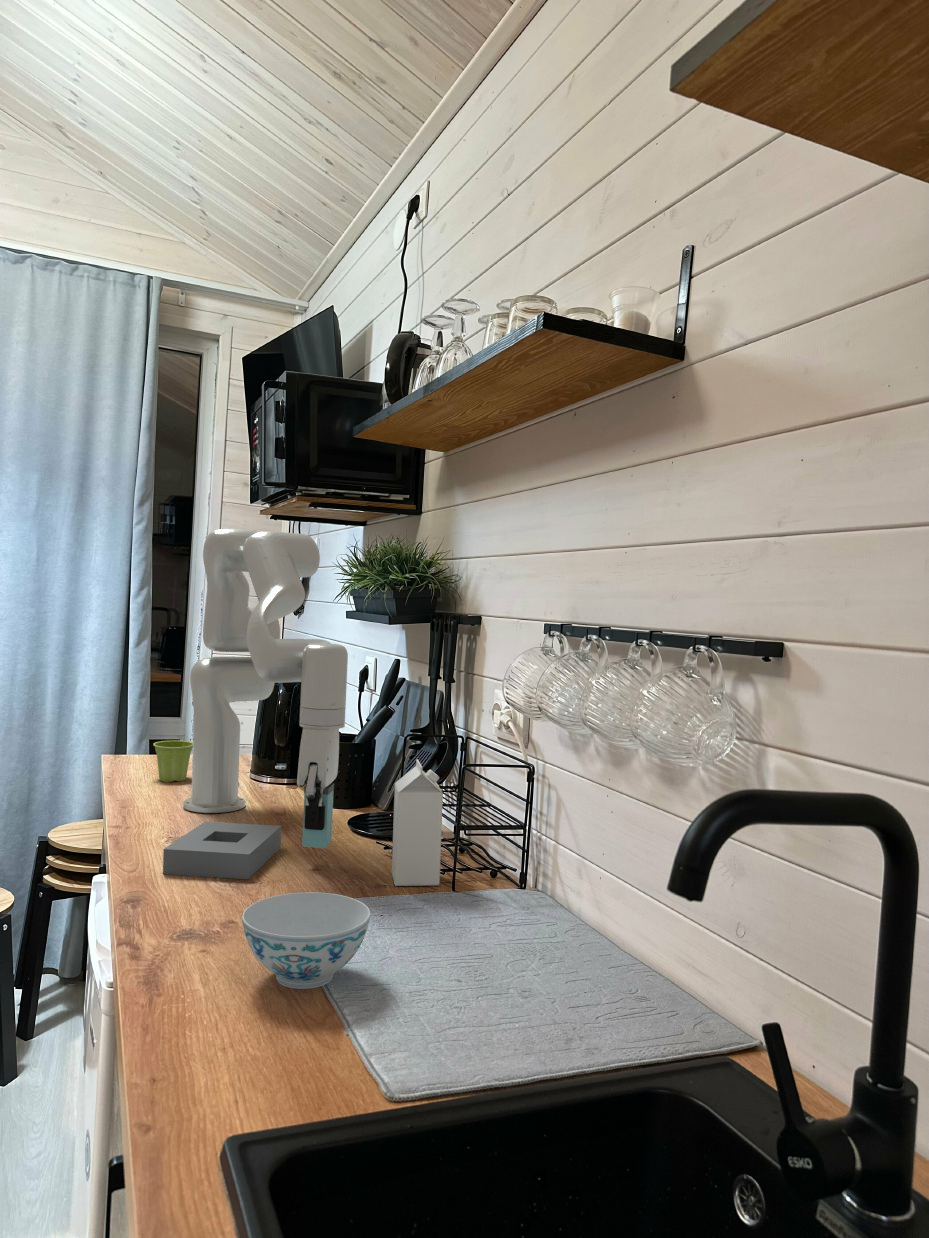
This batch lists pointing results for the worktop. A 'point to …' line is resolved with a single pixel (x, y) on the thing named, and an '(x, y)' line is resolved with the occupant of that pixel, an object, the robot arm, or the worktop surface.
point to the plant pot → (173, 759)
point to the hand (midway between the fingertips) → (317, 824)
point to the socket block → (222, 850)
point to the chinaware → (305, 935)
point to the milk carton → (417, 829)
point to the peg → (324, 836)
